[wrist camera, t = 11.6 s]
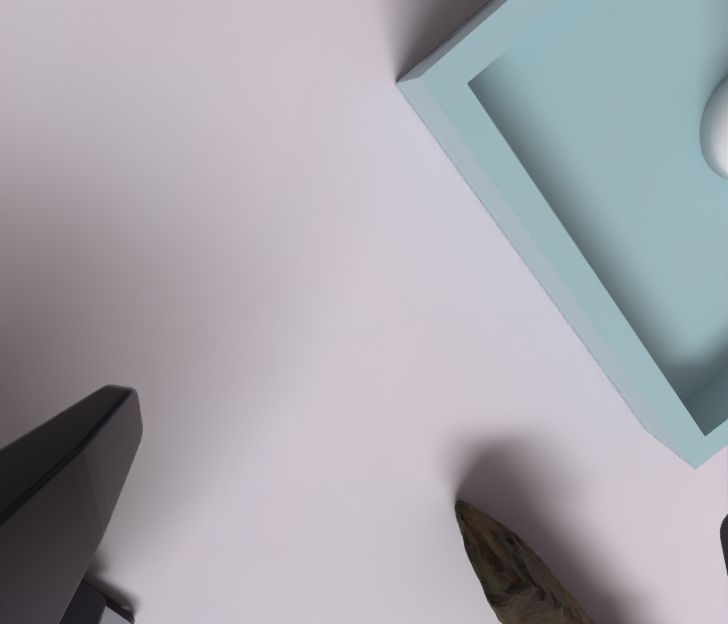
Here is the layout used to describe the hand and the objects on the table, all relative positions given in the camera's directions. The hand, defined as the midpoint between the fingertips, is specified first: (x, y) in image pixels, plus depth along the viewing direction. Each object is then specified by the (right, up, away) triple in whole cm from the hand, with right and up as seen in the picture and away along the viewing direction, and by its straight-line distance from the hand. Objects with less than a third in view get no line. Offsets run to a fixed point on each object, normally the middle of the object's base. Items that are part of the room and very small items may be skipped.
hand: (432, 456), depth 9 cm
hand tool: (+8, -13, +20) cm, 25 cm away
